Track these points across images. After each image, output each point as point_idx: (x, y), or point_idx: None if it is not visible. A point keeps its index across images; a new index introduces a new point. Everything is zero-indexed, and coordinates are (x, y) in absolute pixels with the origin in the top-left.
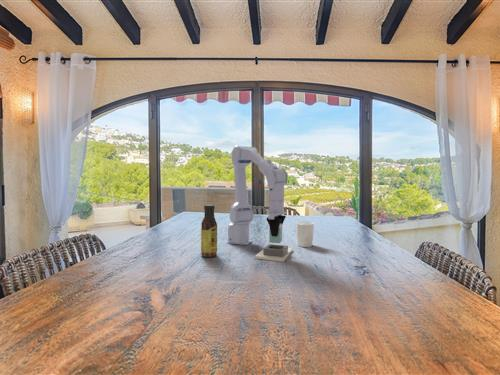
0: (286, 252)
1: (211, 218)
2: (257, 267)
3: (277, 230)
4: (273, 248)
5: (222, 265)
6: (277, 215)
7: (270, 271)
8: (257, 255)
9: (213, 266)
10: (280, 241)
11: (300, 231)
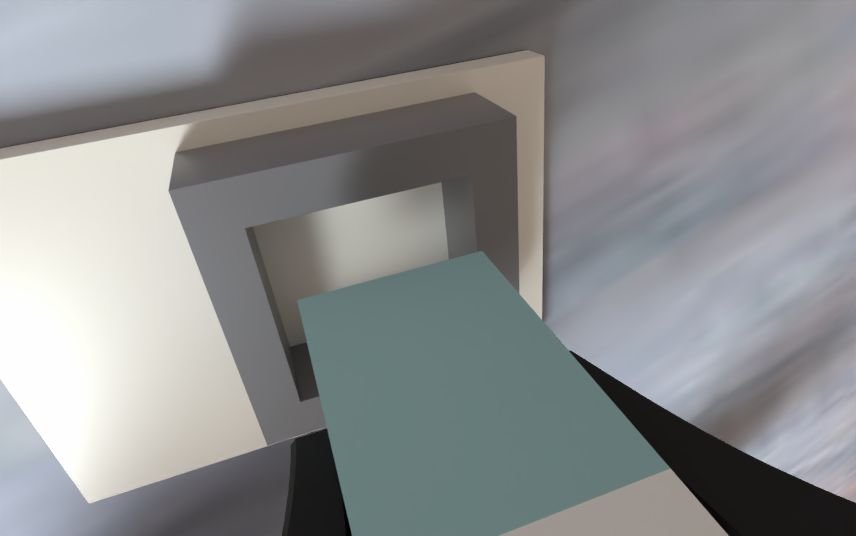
0: (282, 135)
1: None
2: (751, 188)
3: (685, 424)
4: (285, 346)
5: (740, 392)
6: None
7: (838, 32)
8: None
9: (763, 412)
10: (414, 279)
11: None
